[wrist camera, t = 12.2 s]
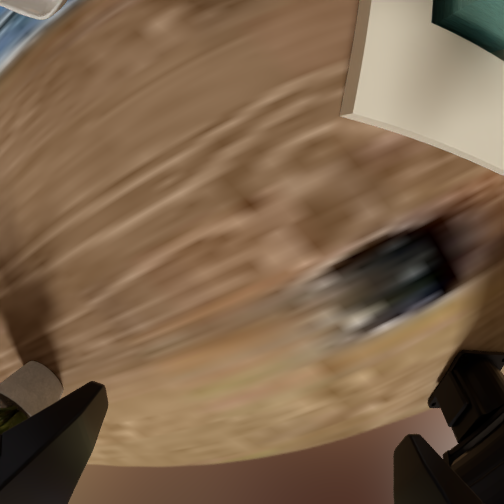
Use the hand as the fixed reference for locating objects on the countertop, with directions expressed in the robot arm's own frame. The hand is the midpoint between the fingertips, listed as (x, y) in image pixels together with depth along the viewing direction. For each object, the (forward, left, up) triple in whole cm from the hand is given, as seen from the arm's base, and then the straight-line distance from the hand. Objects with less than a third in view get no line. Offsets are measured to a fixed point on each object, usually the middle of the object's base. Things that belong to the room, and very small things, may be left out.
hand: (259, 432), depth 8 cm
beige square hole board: (-8, -18, -13) cm, 24 cm away
